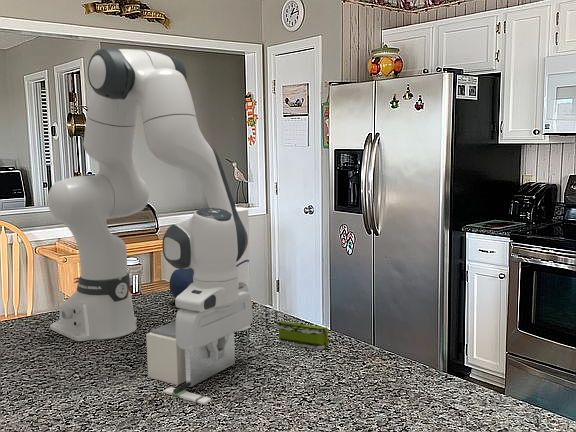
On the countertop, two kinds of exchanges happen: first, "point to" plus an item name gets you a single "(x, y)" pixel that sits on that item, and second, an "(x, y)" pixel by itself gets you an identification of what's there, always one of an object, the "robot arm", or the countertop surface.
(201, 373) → the plate
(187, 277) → the decorative stone
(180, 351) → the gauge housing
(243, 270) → the container
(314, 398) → the countertop surface
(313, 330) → the toy tank
